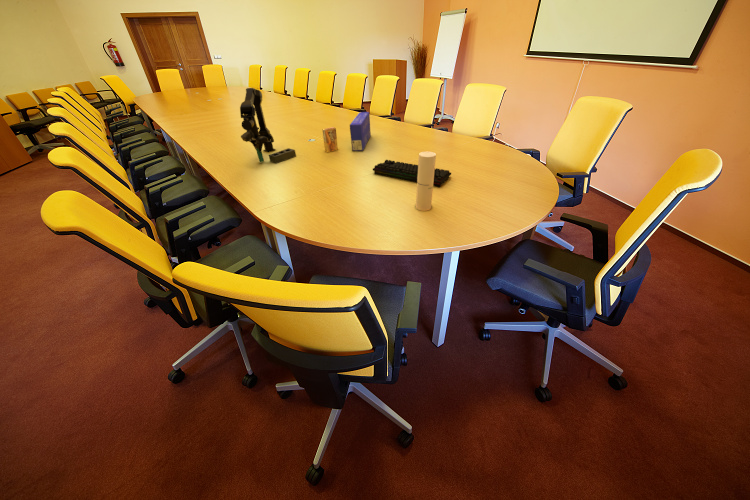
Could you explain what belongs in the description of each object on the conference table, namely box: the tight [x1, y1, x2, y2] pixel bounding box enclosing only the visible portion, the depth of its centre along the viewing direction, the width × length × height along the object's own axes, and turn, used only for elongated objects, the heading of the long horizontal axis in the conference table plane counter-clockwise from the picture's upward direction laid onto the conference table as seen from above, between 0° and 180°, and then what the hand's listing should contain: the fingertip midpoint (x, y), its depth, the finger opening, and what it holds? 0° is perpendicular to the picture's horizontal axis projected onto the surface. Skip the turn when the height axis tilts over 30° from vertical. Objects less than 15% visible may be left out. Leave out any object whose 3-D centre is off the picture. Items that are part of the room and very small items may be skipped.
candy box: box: [322, 126, 339, 153], centre depth 205 cm, size 9×4×15 cm, turn 129°
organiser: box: [268, 147, 297, 164], centre depth 197 cm, size 7×17×4 cm, turn 142°
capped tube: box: [254, 145, 265, 163], centre depth 189 cm, size 3×3×10 cm
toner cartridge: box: [349, 111, 372, 152], centre depth 215 cm, size 39×8×18 cm, turn 172°
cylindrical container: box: [415, 151, 437, 212], centre depth 129 cm, size 7×7×25 cm
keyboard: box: [372, 159, 452, 188], centre depth 165 cm, size 42×16×5 cm, turn 58°
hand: (259, 151), depth 188 cm, fingers closed on capped tube, 3 cm apart
